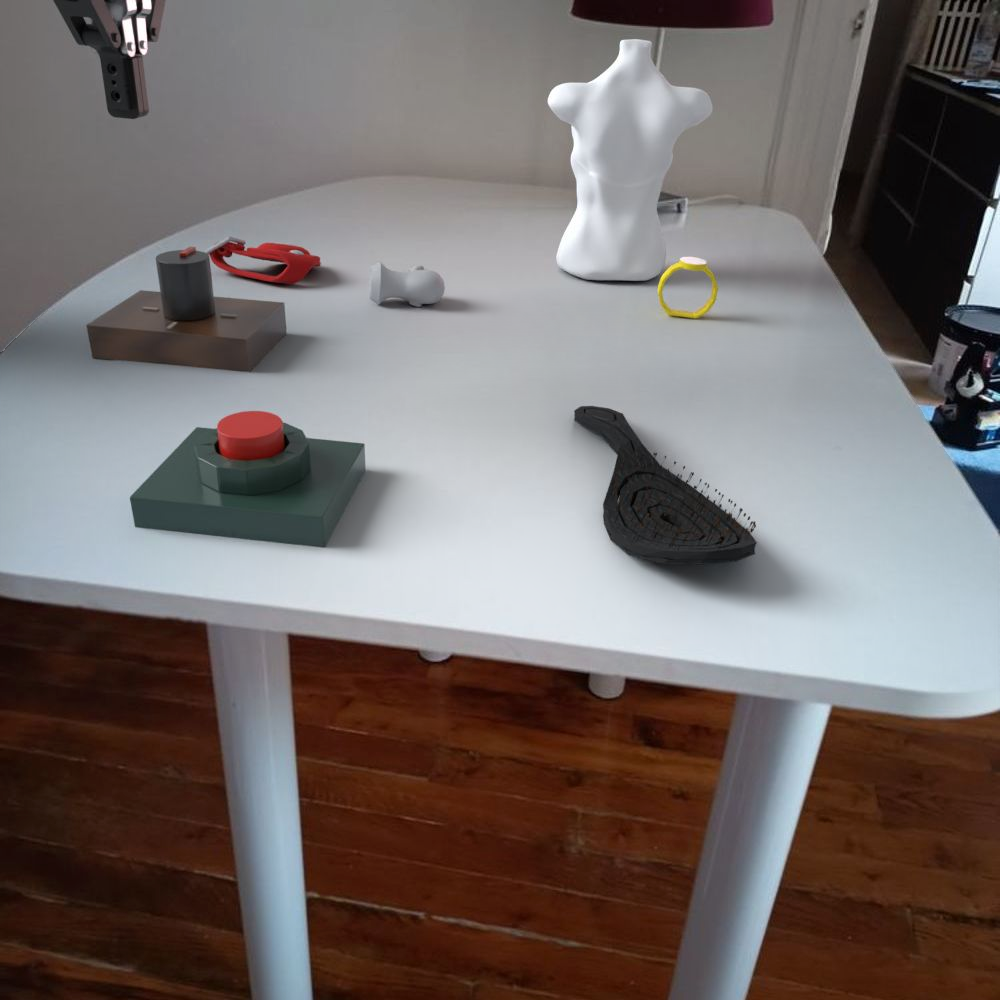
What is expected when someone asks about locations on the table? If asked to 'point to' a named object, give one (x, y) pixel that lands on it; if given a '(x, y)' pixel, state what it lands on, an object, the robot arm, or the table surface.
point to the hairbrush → (661, 504)
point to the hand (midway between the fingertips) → (129, 116)
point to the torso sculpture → (622, 163)
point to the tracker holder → (277, 252)
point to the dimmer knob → (185, 284)
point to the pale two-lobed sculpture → (405, 285)
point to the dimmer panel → (188, 333)
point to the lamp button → (250, 435)
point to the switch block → (252, 490)
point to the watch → (694, 265)
